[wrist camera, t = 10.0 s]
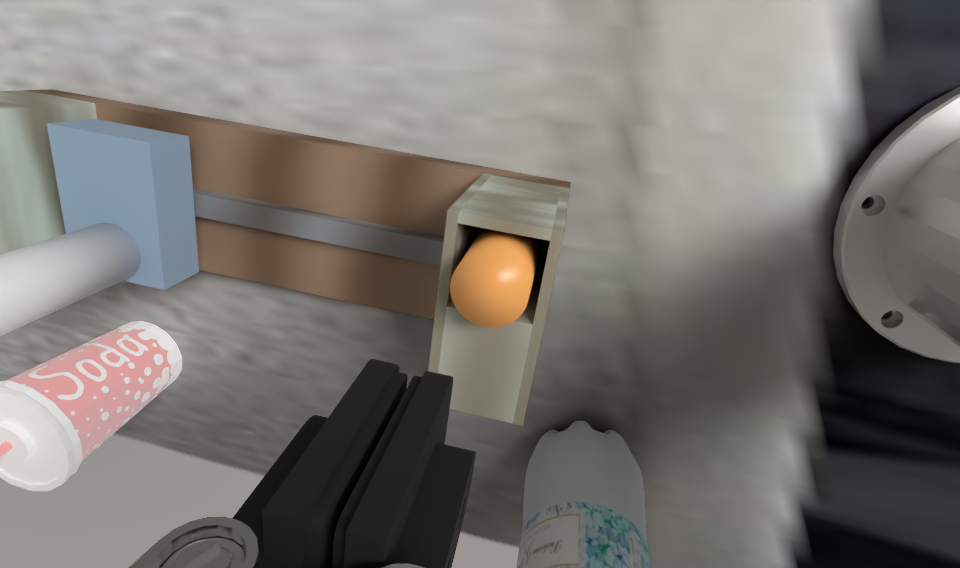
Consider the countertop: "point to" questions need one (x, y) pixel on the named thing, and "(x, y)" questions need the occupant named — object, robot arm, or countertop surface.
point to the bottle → (583, 503)
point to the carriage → (106, 220)
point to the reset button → (495, 278)
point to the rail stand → (324, 225)
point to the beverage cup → (80, 402)
